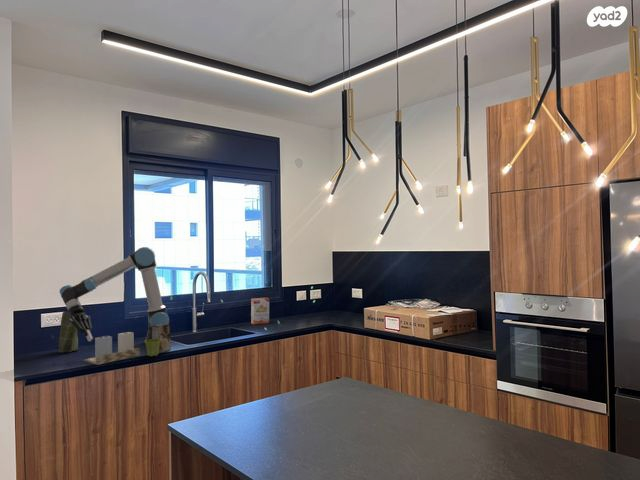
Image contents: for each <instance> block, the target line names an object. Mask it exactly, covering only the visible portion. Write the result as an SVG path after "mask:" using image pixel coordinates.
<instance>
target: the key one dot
mask: <svg viewBox="0 0 640 480" xmlns="http://www.w3.org/2000/svg"><path fill="white" fill-rule="evenodd" d="M134 335H135V333H134V332H131V331H127V332H120V333H117V352H122V351H127V350H131V349H135V343H134V342H135V340H134V339H135V337H134Z"/></svg>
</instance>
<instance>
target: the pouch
mask: <svg viewBox="0 0 640 480" xmlns="http://www.w3.org/2000/svg"><path fill="white" fill-rule="evenodd" d="M61 314H62V316H61V318H60V319H61V320H60V329H59V330H60V331H59V337H58V340H59V341H58V350H57V351H58V353H60V354H62V353H63V354H64V353H72V352H79V351H78V350H79V337H78V332H79V331H78V330H77V328H76V327H75V326H74V325H73V323H72V322H71V321H69V319H70V318H71V315H70V313H69V311H65V310H64V311H63V312H62V313H61Z"/></svg>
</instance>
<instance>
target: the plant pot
mask: <svg viewBox="0 0 640 480" xmlns="http://www.w3.org/2000/svg"><path fill="white" fill-rule="evenodd" d="M160 341H161V339H150V340H146V339H145V340H144V344H145V347H146V348H145V349H146V355H147V356H148V357H153V356H155V357H156V356H158V355H159V354H160V353H159V346H160Z"/></svg>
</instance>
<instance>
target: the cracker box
mask: <svg viewBox="0 0 640 480" xmlns="http://www.w3.org/2000/svg"><path fill="white" fill-rule="evenodd" d="M250 303H251V304H250V305H251V307H250V309H251V310H250V320H251V321H250V322H251V325H264V324H265V325H266V324H270V298H269V297H257V298H251V299H250Z"/></svg>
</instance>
